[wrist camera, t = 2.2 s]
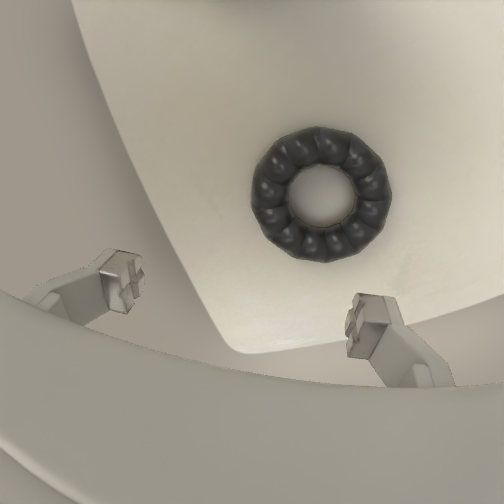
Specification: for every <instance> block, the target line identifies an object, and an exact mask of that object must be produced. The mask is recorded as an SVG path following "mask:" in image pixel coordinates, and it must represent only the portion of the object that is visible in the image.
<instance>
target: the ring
mask: <svg viewBox="0 0 504 504" xmlns="http://www.w3.org/2000/svg"><path fill="white" fill-rule="evenodd" d="M317 165H324V166H329V167H334V168H338V169H339V170H341V171H342V172H343V173H344V174H345V175H346V176H348V177H349V178H350V179H351V180H352V183H353V186H354V190H355V193H356V198H355V203H354V207H353V211H352V212H351V213H350V214H349V215H348V216H347V217H346V218H345V219H344V220H343V221H342V222H341V223H340V224H336V225H333V226H330V227H327V228H319V227H313V226H307V225H306V224H304V223H303V222H302V221H301V220H299V219H298V218H297V217H295V216H294V214H293V212H292V210H291V207H290V205H289V203H288V195H289V189H290V184H291V183H292V182H293V181H294V179H295V178H296V177H297V176H298V175H299V173H300V172H301V171H303V170H306V169H309V168H312V167H314V166H317ZM391 200H392V192H391V188H390V184H389V180H388V177H387V173H386V169H385V166H384V163H383V161H382V159H381V158H380V157H379V156H378V155H377V154H376V153H375V152H374V151H373V150H372V149H371V148H370V147H368V146H367V145H366V144H365V143H364V142H363V141H362V140H361V139H360V138H359V137H357V136H356V135H354V134H352V133H349V132H345V131H340V130H335V129H330V128H325V127H318V126H314V127H309V128H307V129H304V130H301V131H298V132H296V133H293V134H290V135H288V136H285V137H282V138H280V139H279V140H277V141H276V142H275V143H274V145H273V146H272V147H271V148H270V150H269V151H268V152H267V153H266V155H265V156H264V157H263V159H262V160H261V161H260V162H259V164H258V165H257V167H256V168H255V171H254V175H253V185H252V195H251V207H252V210H253V212H254V215H255V217H256V219H257V221H258V223H259V225H260V227H261V229H262V232H263V234H264V236H265V237H266V238H267V239H268V240H269V241H270V242H272V243H273V244H275V245H276V246H277V247H279V248H280V249H282V250H283V251H284V252H286V253H287V254H288V255H290V256H291V257H293V258H296V259H302V260H308V261H314V262H320V263H330V262H333V261H337V260H340V259H343V258H346V257H350V256H353V255H356V254H358V253H360V252H361V251H362V250H363V249H364V248H365V247H366V246H367V245H368V244H369V243H370V242H371V241H372V240H373V239H374V238H375V237H376V236H377V235H378V234H379V233H380V232H381V231H382V229H383V228H384V225H385V221H386V218H387V215H388V211H389V208H390V204H391Z"/></svg>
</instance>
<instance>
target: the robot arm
mask: <svg viewBox="0 0 504 504" xmlns="http://www.w3.org/2000/svg"><path fill="white" fill-rule="evenodd" d="M142 266H143V260H142V257H141V256H140V255H138V254H134V253H129V252H125V251H120V250H115V249H110V248H109V249H106V250H105V251H104V252H103V253H102V254H101V255H100V256H98V257H97V258H96V259H95V260H94V261H93V262H92V263H91V264H90V265H89V266H88V267H87V268H81V269H78V270H75V271H73V272H70V273H67V274H64V275H62V276H59V277H56V278H54V279H51V280H49V281H46V282H43V283H40V284H38V285H36V286H35V287H34V288H33V289H32V290H31V291H30V292H29V293H28V294H27V295H26V296H25V297H24V298H23V299H22V300H20V299H18V298H16V297H14V296H12V295H10V294H8V293H6V292H4V291H2V290H0V504H504V382H501V383H492V384H483V385H471V386H455V383H454V380H453V377H452V374H451V370H450V368H449V365H448V363H447V362H446V361H445V360H444V359H443V358H442V357H441V356H439V355H438V354H437V353H436V352H435V351H434V350H433V349H432V348H431V347H430V346H429V345H428V344H427V343H426V342H425V341H424V340H423V339H421V338H420V337H419V336H418V335H417V334H416V333H415V332H414V331H413V330H412V329H411V328H409V327H408V326H405V325H404V322H403V319H402V316H401V313H400V310H399V307H398V304H397V302H396V299H395V298H394V297H390V296H378V295H371V294H363V293H356V294H355V296H354V299H353V301H352V302H353V308H352V309H350V310H349V312H348V314H347V317H346V322H345V335H346V336H347V337H348V341H347V343H346V347H347V356H348V357H350V358H358V359H366V360H369V362H370V363H371V365H372V366H373V368H374V369H375V371H376V372H377V374H378V375H379V376H380V378H381V379H382V381H383V382H384V383H385V385H386V386H387V387H369V386H352V385H339V384H327V383H319V382H310V381H301V380H294V379H287V378H280V377H274V376H268V375H262V374H256V373H251V372H245V371H240V370H235V369H230V368H225V367H220V366H216V365H211V364H206V363H202V362H198V361H194V360H189V359H186V358H182V357H178V356H174V355H170V354H167V353H163V352H159V351H155V350H152V349H149V348H146V347H142V346H139V345H136V344H133V343H129V342H126V341H123V340H120V339H117V338H114V337H111V336H108V335H105V334H103V333H100V332H97V331H94V330H91V329H89V328H86V327H83V326H84V325H86V324H87V323H89V322H91V321H92V320H94V319H96V318H97V317H99V316H101V315H103V314H104V313H106V312H108V311H109V310H112V311H116V312H119V313H123V314H128V312H129V311H130V309H131V308H132V306H133V305H134V299H135V298H138V297H139V296H140V295H141V294H142V292H143V289H144V286H145V274H144V273H143V271H142V270H141V267H142Z"/></svg>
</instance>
